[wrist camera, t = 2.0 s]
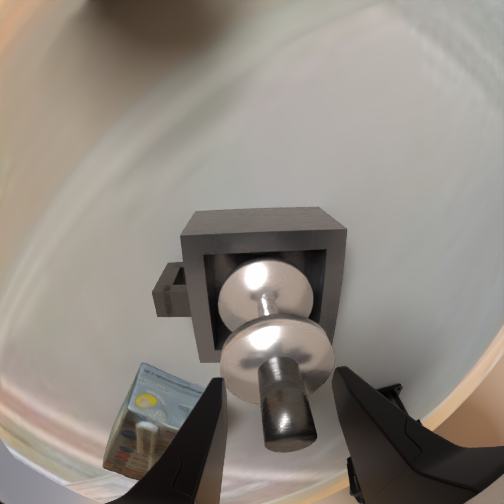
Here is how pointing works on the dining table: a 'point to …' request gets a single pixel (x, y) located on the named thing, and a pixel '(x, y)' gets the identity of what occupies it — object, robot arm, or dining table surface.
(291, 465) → the dining table surface
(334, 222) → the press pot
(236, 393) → the plunger
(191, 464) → the robot arm
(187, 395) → the beverage carton
